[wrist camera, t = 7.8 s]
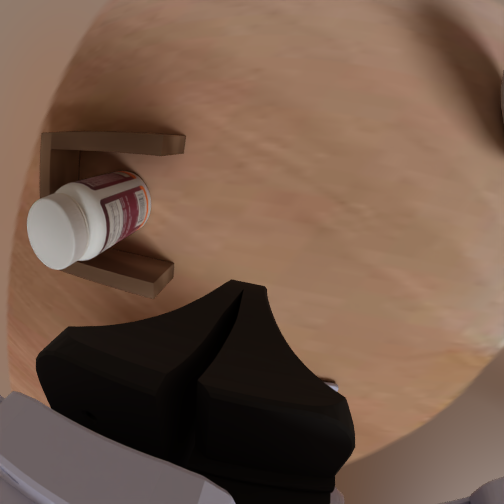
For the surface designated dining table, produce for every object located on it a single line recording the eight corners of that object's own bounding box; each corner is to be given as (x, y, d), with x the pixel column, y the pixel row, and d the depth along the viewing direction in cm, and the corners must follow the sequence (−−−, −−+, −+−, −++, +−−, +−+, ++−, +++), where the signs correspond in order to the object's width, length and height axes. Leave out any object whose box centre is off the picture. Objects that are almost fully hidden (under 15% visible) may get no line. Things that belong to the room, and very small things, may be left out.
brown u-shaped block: (173, 277, 22) (153, 299, 19) (70, 250, 23) (44, 265, 20) (185, 135, 19) (163, 135, 15) (71, 131, 20) (41, 133, 16)
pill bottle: (91, 201, 21) (14, 232, 14) (124, 156, 20) (41, 171, 12) (128, 244, 22) (59, 292, 14) (165, 203, 21) (93, 239, 13)
